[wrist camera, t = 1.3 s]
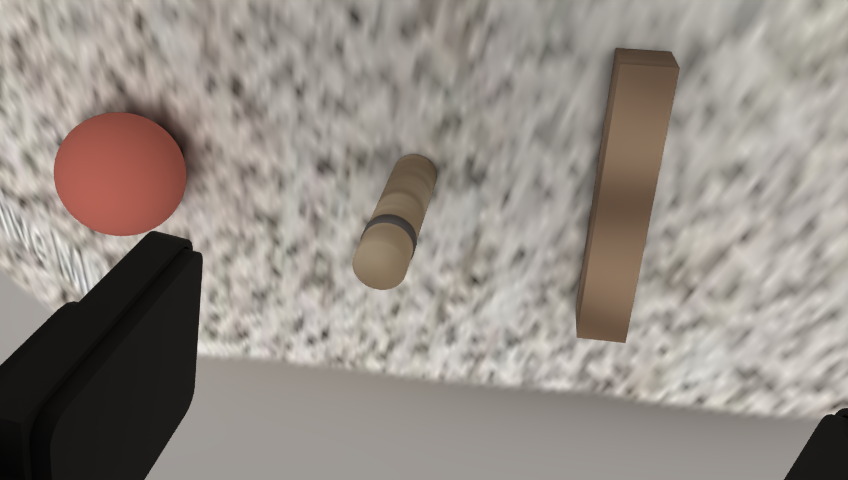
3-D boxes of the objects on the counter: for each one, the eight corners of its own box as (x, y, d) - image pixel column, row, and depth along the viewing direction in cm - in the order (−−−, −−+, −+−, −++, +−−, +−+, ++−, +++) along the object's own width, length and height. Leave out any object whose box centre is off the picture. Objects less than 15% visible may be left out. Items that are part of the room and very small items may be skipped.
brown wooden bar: (621, 314, 40) (625, 343, 38) (575, 309, 40) (576, 337, 38) (671, 51, 33) (679, 67, 31) (615, 48, 34) (620, 63, 31)
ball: (74, 144, 40) (3, 192, 35) (137, 71, 38) (71, 112, 32) (161, 223, 42) (105, 280, 37) (228, 158, 39) (178, 210, 34)
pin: (383, 172, 38) (339, 262, 30) (415, 144, 37) (379, 230, 29) (414, 204, 39) (379, 300, 31) (447, 177, 38) (419, 270, 30)
